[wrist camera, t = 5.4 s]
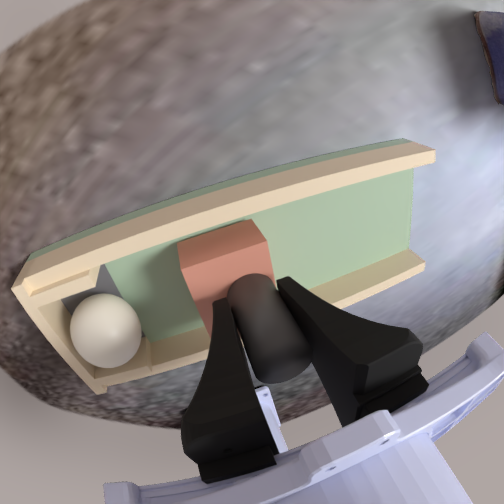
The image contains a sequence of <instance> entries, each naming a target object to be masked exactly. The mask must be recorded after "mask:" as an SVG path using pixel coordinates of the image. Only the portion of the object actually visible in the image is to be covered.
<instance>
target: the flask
mask: <svg viewBox="0 0 504 504" xmlns="http://www.w3.org/2000/svg"><path fill="white" fill-rule="evenodd" d="M474 17H475V18H476V28H477V32H478V35H480V36H481V37H480V38H481V41H482V46H483V51H484V56H485V58H486V61H487V62H488V65H489V66H490V72H489V73H490V75H491V77H492V85H493V89H494V98H495V100H496V101H497V102H498V104H499V103H500V104H503V105H504V13H502V12H488V11H479V12H477V13H476V14H474Z"/></svg>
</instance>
